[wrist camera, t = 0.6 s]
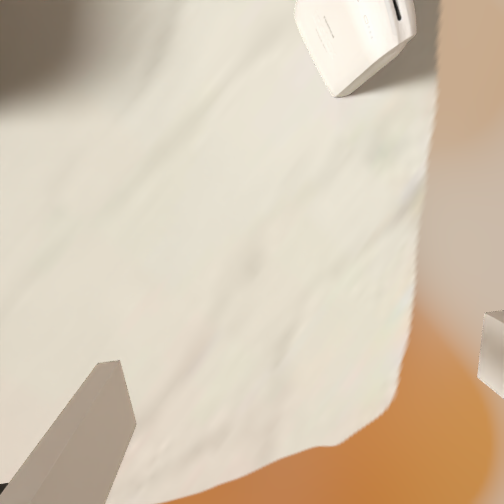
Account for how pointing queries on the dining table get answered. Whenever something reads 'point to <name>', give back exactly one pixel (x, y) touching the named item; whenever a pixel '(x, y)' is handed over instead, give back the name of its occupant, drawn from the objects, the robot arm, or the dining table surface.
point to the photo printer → (353, 37)
